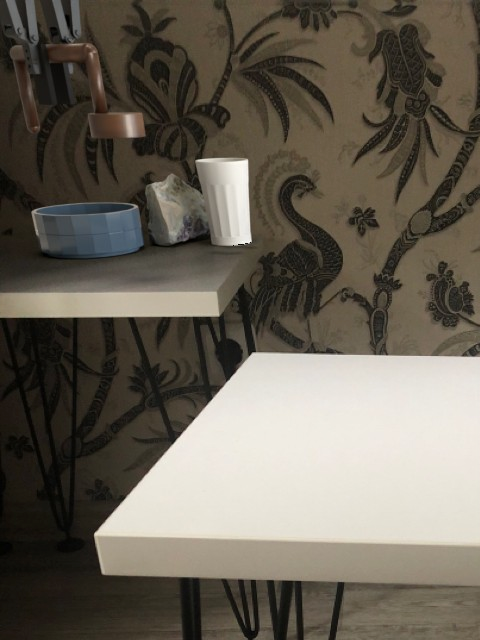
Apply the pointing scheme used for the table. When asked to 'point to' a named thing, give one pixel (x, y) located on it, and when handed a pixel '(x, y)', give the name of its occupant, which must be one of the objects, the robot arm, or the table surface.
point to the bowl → (88, 229)
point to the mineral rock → (175, 211)
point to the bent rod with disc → (100, 120)
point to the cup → (226, 199)
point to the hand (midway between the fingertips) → (57, 104)
